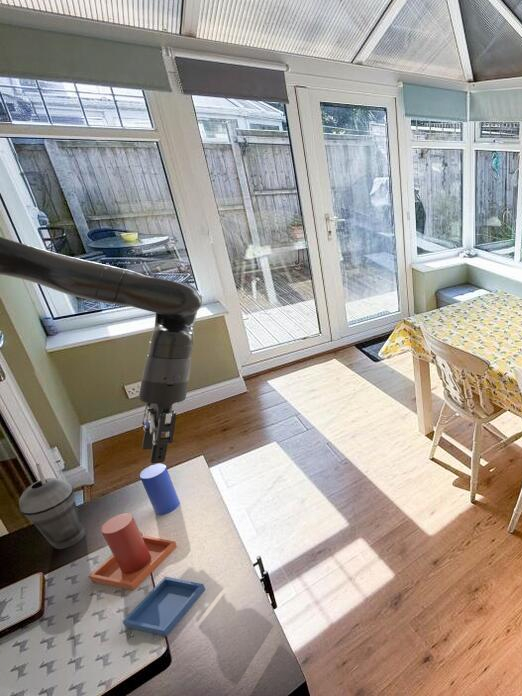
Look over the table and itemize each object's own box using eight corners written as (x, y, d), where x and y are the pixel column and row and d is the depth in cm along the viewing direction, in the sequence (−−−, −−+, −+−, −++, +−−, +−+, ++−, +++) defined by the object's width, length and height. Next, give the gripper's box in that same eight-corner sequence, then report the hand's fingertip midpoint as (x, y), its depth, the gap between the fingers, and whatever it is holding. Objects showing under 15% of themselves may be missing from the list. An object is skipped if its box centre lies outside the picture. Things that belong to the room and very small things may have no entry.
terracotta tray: (92, 583, 77) (88, 576, 76) (139, 540, 85) (136, 533, 84) (134, 592, 76) (131, 585, 75) (177, 548, 84) (174, 541, 83)
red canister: (115, 572, 78) (94, 531, 74) (137, 551, 82) (118, 511, 78) (135, 576, 78) (115, 535, 73) (156, 554, 82) (138, 515, 77)
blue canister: (150, 514, 91) (134, 477, 86) (168, 498, 95) (153, 462, 90) (167, 517, 90) (152, 480, 86) (185, 501, 94) (171, 465, 90)
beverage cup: (56, 531, 86) (14, 457, 78) (101, 520, 89) (64, 448, 81) (36, 562, 80) (-12, 485, 72) (85, 549, 83) (44, 474, 75)
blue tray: (126, 629, 70) (122, 621, 69) (168, 583, 77) (165, 576, 77) (167, 638, 69) (163, 631, 68) (206, 591, 76) (203, 583, 76)
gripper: (136, 370, 87) (122, 447, 86) (149, 385, 77) (134, 470, 77) (180, 371, 92) (167, 442, 92) (197, 384, 83) (184, 464, 83)
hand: (152, 455), depth 85 cm, fingers open, 8 cm apart
